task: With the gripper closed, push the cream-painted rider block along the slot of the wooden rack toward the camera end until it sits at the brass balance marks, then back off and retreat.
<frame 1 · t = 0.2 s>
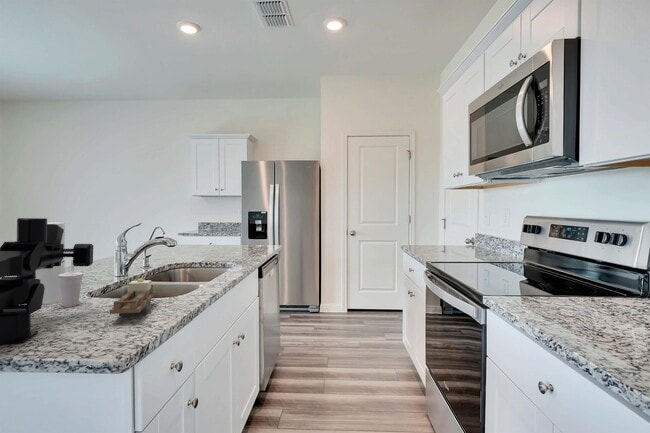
hand: (67, 251, 103), 17 cm above the countertop, tool horizontal, fingers open, 9 cm apart
cylindrical container: (50, 301, 110), on the countertop
smoothie: (70, 305, 106), on the countertop
wooden rack: (135, 313, 100), on the countertop
rider: (140, 287, 104), point 6 cm above the countertop, slide at 0.0 cm
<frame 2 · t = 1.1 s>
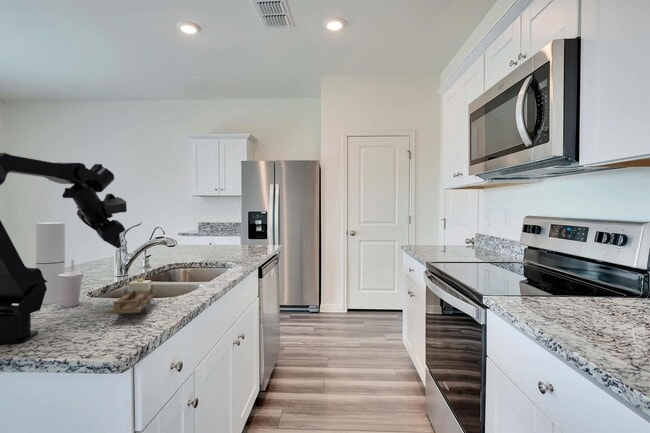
hand: (112, 241, 109), 20 cm above the countertop, tool tilted 40°, fingers open, 9 cm apart
nothing on the countertop moved.
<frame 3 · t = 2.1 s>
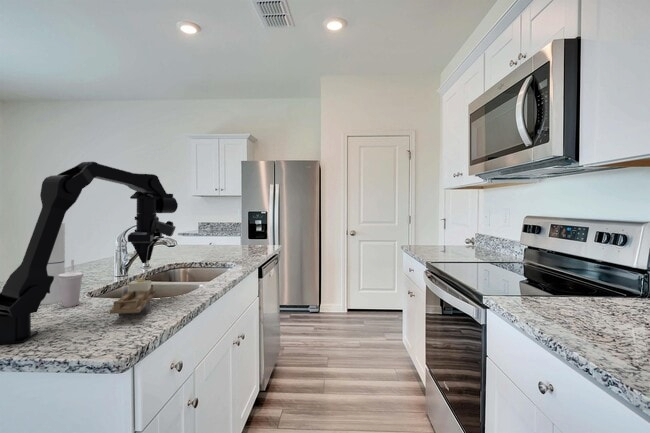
hand: (146, 261, 111), 13 cm above the countertop, tool pointing down, fingers open, 5 cm apart
nothing on the countertop moved.
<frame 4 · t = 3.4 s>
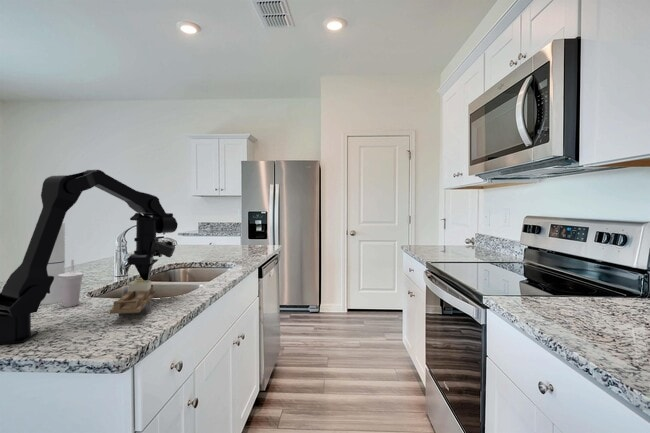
hand: (145, 282, 111), 6 cm above the countertop, tool pointing down, fingers closed
nothing on the countertop moved.
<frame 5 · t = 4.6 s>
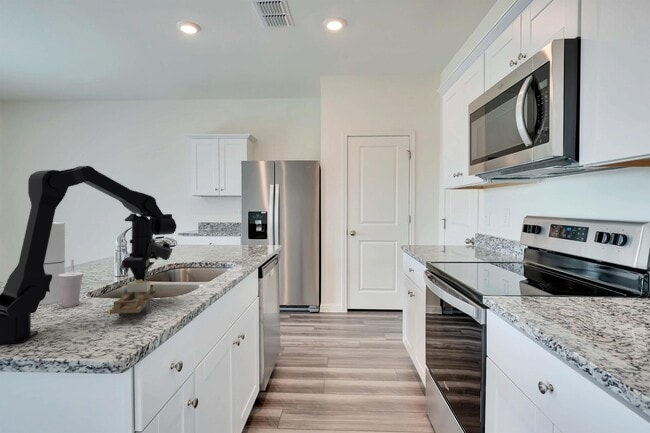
hand: (141, 286, 107), 6 cm above the countertop, tool pointing down, fingers closed
rider: (139, 287, 104), point 6 cm above the countertop, slide at 0.9 cm, touching gripper
everything else where it was.
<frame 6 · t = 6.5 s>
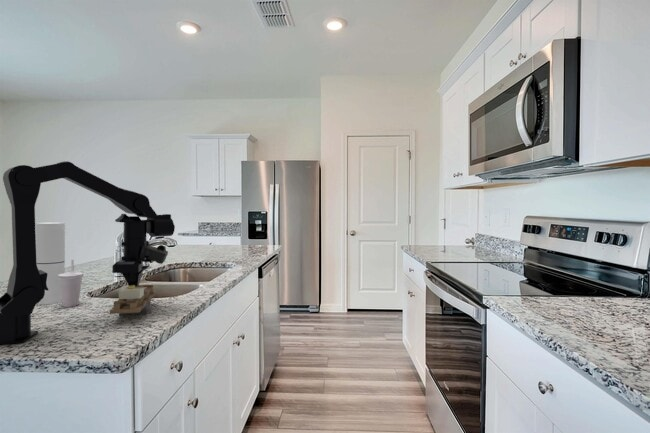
hand: (134, 292, 99), 6 cm above the countertop, tool pointing down, fingers closed
rider: (131, 294, 96), point 6 cm above the countertop, slide at 8.9 cm, touching gripper
everything else where it was.
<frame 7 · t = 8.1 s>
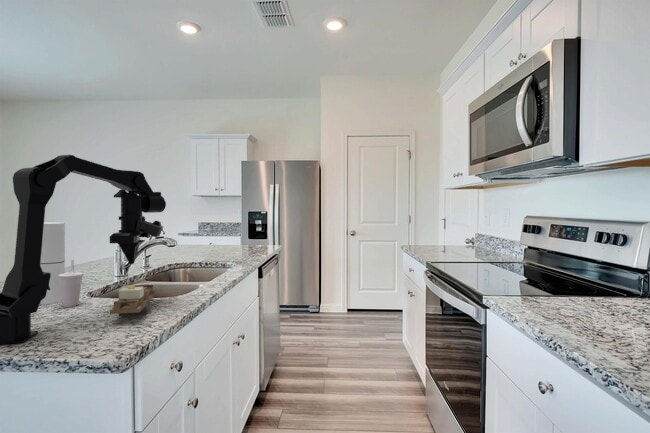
hand: (131, 263, 106), 13 cm above the countertop, tool pointing down, fingers closed
rider: (131, 294, 96), point 6 cm above the countertop, slide at 8.9 cm
everything else where it was.
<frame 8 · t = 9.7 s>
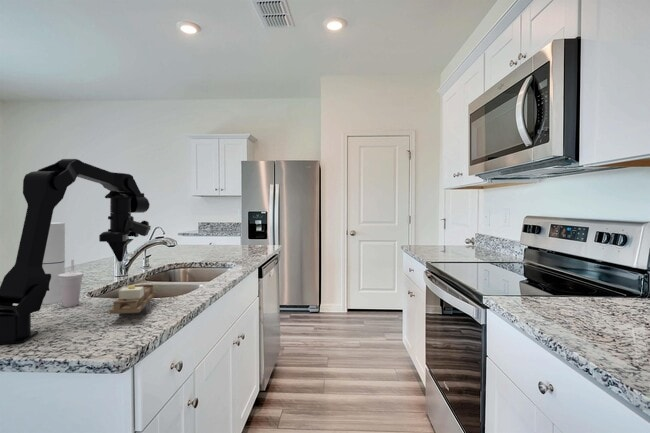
hand: (120, 261, 111), 13 cm above the countertop, tool pointing down, fingers closed
nothing on the countertop moved.
at the end: rider slide at 8.9 cm; rider touching nothing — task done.
